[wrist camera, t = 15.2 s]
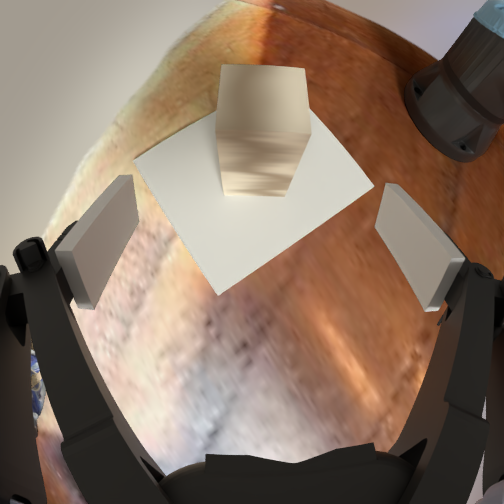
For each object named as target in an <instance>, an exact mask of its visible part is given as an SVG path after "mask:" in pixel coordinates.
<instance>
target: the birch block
mask: <svg viewBox="0 0 504 504" xmlns="http://www.w3.org/2000/svg"><path fill="white" fill-rule="evenodd" d="M215 133H216V141H217V149H218V156H219V164H220V171H221V179H222V186H223V193H224V195H240V196H274V197H285V195H286V193H287V190H288V188H289V186H290V183H291V181H292V179H293V176H294V174H295V172H296V169H297V167H298V165H299V162H300V160H301V158H302V155H303V153H304V151H305V148H306V146H307V144H308V141H309V139H310V137H311V134H312V132H311V121H310V111H309V102H308V93H307V85H306V76H305V69H304V68H294V67H283V66H268V65H245V64H221V73H220V82H219V92H218V102H217V113H216V124H215Z"/></svg>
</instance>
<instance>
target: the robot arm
mask: <svg viewBox="0 0 504 504" xmlns="http://www.w3.org/2000/svg"><path fill="white" fill-rule="evenodd" d="M404 97H405V103H406V106H407V109H408V112H409V114H410V116H411V118H412V120H413V121H414V123H415V125H416V126H417V127H418V129H419V130H420V132H421V133H422V134H423V135H424V137H425V138H426V139H427V140H428V141H429V142H430V143H431V144H432V145H433V146H434V147H435V148H437V149H438V150H439V151H440V152H442V153H443V154H445V155H446V156H448V157H450V158H451V159H454V160H456V161H459V162H472V161H474V160H475V159H477V158H478V157H480V156H481V155H483V154H484V153H485V152H486V150H487V149H488V147H489V145H490V144H491V142H492V140H493V139H494V137H495V135H496V133H497V132H498V130H499V128H500V126H501V125H502V124H503V123H504V0H488V1H486V2H485V4H484V5H483V6H482V7H481V8H480V9H479V10H478V11H477V12H475V13H474V17H473V19H472V20H471V21H470V23H469V24H468V26H467V27H466V28H465V29H464V31H463V32H462V33H461V35H460V36H459V37H458V39H457V40H456V41H455V43H454V44H453V45H452V47H451V48H450V49H449V50H448V52H447V53H446V54H445V56H444V57H443V58H442V59H441V60H439V61H437V62H435V63H433V64H431V65H429V66H428V67H426V68H424V69H422V70H420V71H418V72H417V73H416V74H414V75H413V77H412V78H411V79H410V81H409V82H408V83H407V85H406V87H405V92H404ZM138 223H139V216H138V210H137V204H136V197H135V190H134V183H133V176H132V175H119V176H118V177H117V178H116V179H115V180H114V181H113V182H112V183H111V184H110V185H109V186H108V188H107V189H106V190H105V191H104V192H103V193H102V194H101V195H100V196H99V197H98V198H97V200H96V201H95V202H94V203H93V204H92V205H91V206H90V208H89V209H88V210H87V211H86V212H85V213H84V214H83V216H82V217H81V218H80V219H79V220H78V221H75V222H73V223H72V224H71V225H69V226H68V227H67V228H66V229H65V230H64V231H63V233H62V235H60V236H59V238H58V239H57V241H55V243H54V244H53V245H52V246H51V248H50V249H49V250H48V252H47V250H46V247H45V244H44V242H43V240H42V238H40V237H32V238H29V239H26V240H24V241H23V242H21V243H20V244H19V245H18V246H16V248H15V249H14V251H13V256H14V258H15V261H16V263H17V265H18V268H19V270H20V272H21V273H17V274H12V275H10V274H9V272H8V270H7V268H6V267H5V266H3V265H0V504H47V498H46V492H45V487H44V481H43V477H42V472H41V467H40V462H39V456H38V450H37V444H36V437H35V429H34V419H33V408H32V393H31V338H32V342H33V347H34V351H35V355H36V358H37V362H38V366H39V369H40V373H41V376H42V380H43V383H44V386H45V389H46V392H47V395H48V398H49V401H50V404H51V407H52V409H53V412H54V415H55V417H56V420H57V422H58V425H59V427H60V430H61V432H62V435H63V438H64V441H63V442H62V443H61V451H62V453H63V456H64V459H65V461H66V463H67V465H68V467H69V469H70V471H71V473H72V475H73V477H74V479H75V481H76V483H77V485H78V487H79V488H80V490H81V492H82V494H83V496H84V497H85V499H86V501H87V502H88V504H466V503H467V501H468V498H469V496H470V493H471V490H472V488H473V485H474V482H475V479H476V476H477V474H478V470H479V467H480V464H481V461H482V457H483V454H484V465H483V498H482V499H480V500H478V501H477V502H476V503H475V504H504V277H503V279H502V281H500V280H497V279H494V277H493V274H492V273H491V272H490V270H488V269H487V268H486V267H485V266H483V265H481V264H479V263H471V262H470V261H469V260H468V258H467V257H466V256H465V255H464V253H463V252H462V251H461V250H460V249H459V248H458V246H457V245H456V244H455V243H453V240H452V239H451V238H450V237H449V236H448V235H447V234H446V233H445V232H443V231H442V230H441V229H440V228H439V227H438V225H437V224H436V223H435V222H434V221H433V220H432V219H431V218H430V217H429V216H428V215H427V213H426V212H425V211H424V210H423V209H422V208H421V207H420V206H419V205H418V204H417V203H416V202H415V201H414V200H413V199H412V198H411V197H410V196H409V195H408V194H407V193H406V192H405V191H404V190H403V189H402V188H401V187H400V186H399V185H398V184H391V183H386V184H385V189H384V193H383V197H382V201H381V205H380V209H379V213H378V216H377V220H376V224H375V228H376V230H377V231H378V233H379V235H380V236H381V238H382V239H383V241H384V242H385V244H386V245H387V247H388V249H389V250H390V252H391V253H392V255H393V257H394V258H395V260H396V262H397V263H398V265H399V267H400V268H401V270H402V272H403V273H404V275H405V277H406V278H407V280H408V282H409V284H410V285H411V287H412V289H413V291H414V293H415V294H416V296H417V298H418V300H419V302H420V303H421V305H422V307H423V309H424V311H425V312H427V311H437V310H439V308H440V306H441V305H442V303H443V301H444V299H445V301H446V303H447V304H448V307H447V309H446V310H445V312H444V314H443V315H442V317H441V319H440V320H439V322H438V324H437V325H438V326H439V325H440V323H441V327H440V330H439V334H438V338H437V341H436V344H435V348H434V351H433V354H432V357H431V360H430V363H429V366H428V369H427V372H426V374H425V377H424V380H423V383H422V385H421V388H420V391H419V393H418V396H417V398H416V401H415V403H414V405H413V408H412V410H411V412H410V415H409V417H408V419H407V421H406V424H405V426H404V428H403V430H402V432H401V434H400V436H399V438H398V440H397V441H396V443H395V444H394V445H393V447H392V448H391V449H390V450H389V451H388V453H386V452H381V451H375V447H374V442H373V443H368V444H363V445H357V446H352V447H345V448H339V449H335V450H332V451H330V452H327V453H324V454H322V455H319V456H316V457H313V458H311V459H308V460H305V461H302V462H299V463H287V462H281V461H275V460H270V459H265V458H260V457H255V456H250V455H216V454H206V459H205V462H200V463H195V464H192V465H188V466H185V467H183V468H180V469H178V470H176V471H174V472H172V473H171V474H169V475H168V476H166V475H165V474H164V473H163V472H162V470H161V469H160V468H159V466H158V465H157V464H156V463H155V461H154V460H153V459H152V458H151V456H150V455H149V454H148V453H147V451H146V450H145V449H144V447H143V446H142V444H141V443H140V441H139V440H138V438H137V437H136V435H135V434H134V432H133V430H132V429H131V427H130V426H129V424H128V422H127V421H126V419H125V418H124V416H123V414H122V412H121V411H120V409H119V407H118V406H117V404H116V402H115V400H114V399H113V397H112V395H111V393H110V391H109V389H108V388H107V386H106V384H105V382H104V380H103V378H102V376H101V374H100V372H99V370H98V368H97V366H96V364H95V362H94V360H93V358H92V356H91V353H90V351H89V349H88V347H87V345H86V342H85V340H84V338H83V335H82V333H81V331H80V328H79V326H78V323H77V321H76V318H75V316H74V313H73V311H72V309H71V307H70V303H71V301H72V299H73V297H74V300H75V302H76V304H77V306H78V308H81V309H91V310H95V307H96V305H97V303H98V301H99V299H100V297H101V294H102V292H103V290H104V288H105V286H106V284H107V282H108V280H109V278H110V276H111V274H112V272H113V270H114V268H115V266H116V264H117V262H118V260H119V258H120V256H121V254H122V252H123V250H124V249H125V247H126V245H127V243H128V241H129V239H130V238H131V236H132V234H133V232H134V230H135V228H136V227H137V225H138ZM485 397H486V420H485V419H483V418H482V412H483V407H484V402H485ZM484 450H485V452H484Z"/></svg>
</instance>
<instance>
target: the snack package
mask: <svg viewBox="0 0 504 504" xmlns="http://www.w3.org/2000/svg"><path fill="white" fill-rule="evenodd" d="M39 371H40V369H39V366H38V362H37V358H36V355H35V351H33V350H31V376H33V375H34V374H37V373H38V372H39ZM45 391H46V389H45V386H44V383H43V380H42V379H41V380H40V381H39V383H38V384H37V385H35V387H33V388H31V393H32V408H33V419H34V429H35V437H37V436H38V433H37V426H36V424H37V419H38V417H39V415H40V414H41V411H42V408H43V403H44V399H45V394H46V393H45Z"/></svg>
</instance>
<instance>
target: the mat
mask: <svg viewBox="0 0 504 504" xmlns="http://www.w3.org/2000/svg"><path fill="white" fill-rule="evenodd" d="M309 111H310V121H311V132H312V134H311V137H310V139H309V141H308V144H307V146H306V148H305V151H304V153H303V155H302V158H301V160H300V162H299V165H298V167H297V169H296V172H295V174H294V176H293V179H292V181H291V183H290V186H289V188H288V190H287V193H286V195H285V197H274V196H240V195H224V193H223V186H222V179H221V171H220V164H219V156H218V149H217V141H216V133H215V124H216V113H217V111H215V112H213V113H211V114H209V115H207V116H205V117H203V118H202V119H200V120H198V121H196V122H194V123H193V124H191V125H189V126H187V127H186V128H184V129H182V130H181V131H179V132H177V133H176V134H174V135H172V136H171V137H169V138H167V139H166V140H164V141H162V142H161V143H159V144H158V145H156V146H154V147H153V148H151V149H150V150H148V151H147V152H145V153H144V154H142V155H141V156H139V157H138V158H136V159H135V160H133V162H134V164H135V165H136V167H137V169H138V171H139V172H140V174H141V176H142V177H143V179H144V181H145V182H146V184H147V186H148V187H149V189H150V191H151V192H152V194H153V196H154V197H155V199H156V201H157V202H158V204H159V205H160V207H161V209H162V210H163V212H164V214H165V215H166V217H167V218H168V220H169V222H170V223H171V225H172V226H173V228H174V230H175V231H176V233H177V234H178V236H179V237H180V239H181V241H182V242H183V244H184V245H185V247H186V248H187V250H188V251H189V253H190V254H191V256H192V258H193V259H194V261H195V262H196V264H197V265H198V267H199V268H200V270H201V271H202V273H203V274H204V276H205V277H206V279H207V280H208V282H209V283H210V285H211V286H212V288H213V289H214V291H215V292H216V294H217V295H220V294H221V293H223V292H224V291H226V290H227V289H229V288H230V287H232V286H233V285H235V284H236V283H237V282H239V281H240V280H242V279H243V278H245V277H246V276H248V275H249V274H251V273H252V272H254V271H255V270H256V269H258V268H259V267H261V266H262V265H264V264H265V263H267V262H268V261H269V260H271V259H272V258H274V257H275V256H277V255H278V254H280V253H281V252H282V251H284V250H285V249H287V248H288V247H290V246H291V245H293V244H294V243H295V242H297V241H298V240H300V239H301V238H303V237H304V236H305V235H307V234H308V233H310V232H311V231H313V230H314V229H315V228H317V227H318V226H320V225H321V224H322V223H324V222H325V221H327V220H328V219H330V218H331V217H332V216H334V215H335V214H337V213H338V212H339V211H341V210H342V209H344V208H345V207H346V206H348V205H349V204H351V203H352V202H353V201H355V200H356V199H358V198H359V197H360V196H362V195H363V194H365V193H366V192H367V191H369V190H370V189H372V188H373V187H374V185H373V184H372V183H371V181H370V180H369V179H368V177H367V176H366V175H365V173H364V172H363V171H362V169H361V168H360V167H359V166H358V164H357V163H356V162H355V161H354V159H353V158H352V157H351V156H350V154H349V153H348V152H347V151H346V150H345V148H344V147H343V146H342V145H341V144H340V142H339V141H338V140H337V139H336V138H335V136H334V135H333V134H332V133H331V132H330V131H329V130H328V128H327V127H326V126H325V125H324V124H323V123H322V122H321V121H320V119H319V118H318V117H317V116H316V115H315V114H314V113H313V112H312V111H311V110H310V109H309Z"/></svg>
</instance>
